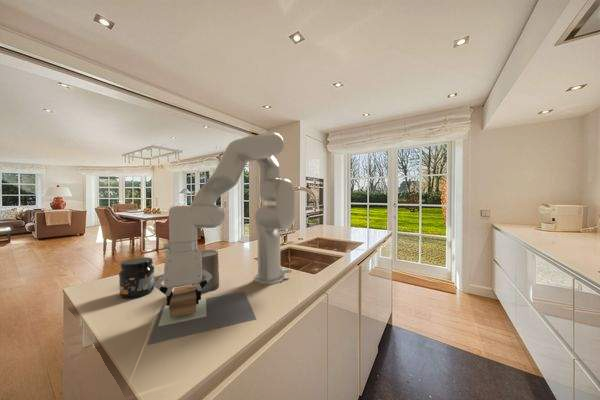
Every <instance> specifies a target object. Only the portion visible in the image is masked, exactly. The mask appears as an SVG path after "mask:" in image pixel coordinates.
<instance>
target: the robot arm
mask: <svg viewBox="0 0 600 400" xmlns="http://www.w3.org/2000/svg"><path fill="white" fill-rule="evenodd" d="M284 147H285V141H284V139H283V137H282V135H280V133H278V132H274V131H273V132H267V133H261V134H257V135H251V136H245V137H241V138H238V139H235V140H233V141H231V142H229V144H228V145H227V147H226V148H225V149H224V150H225V151H224V153H223V155H222V156H221V158H220V160H219V163H218V164H217V166H216V168H215V170H214V172H213V174H212V175H211V176H209V178H208V179H207V180H206V181H205V183H204V184H203V185H202V186H201V187H200V188H199V189H198V191H197V192H196V194H195V196H194V197H193V199H192V201H191V203H190V205H174V206H171V207H170V208H169V210H168V236H169V237H168V238H169V240H168V243H164V244H163V249H164V250H166V249H168V250H169V252H167V253H166V255H165V259H164V269H163V271H164V273H163V274H162V275H161V276H160V277H159V278H157V280H156V281H154V288H156V289H157V290H159V292H160V293H162V294H164V295H165V297H166V306H169V310H170V301H171V297H172V295H173V290H174V288H178V287H184V286H191V285H193V284H195V286H196V288H197V289H196V304H199V300H201V299H202V293H201V290H202V288H203V287H204V286H205V285H206V284H207V282H208V281H209V280H210V279H211V278H212V275H211V274H210V273H209V272H207V271H206V270H204V269H203V268H202V258H201V252H200V251H201V249H200V248H198V229H199V228H200V229H202V228H203V229H211V228H212V229H213V228H217V227H218V226H221V225H222V224H223V223H224V221H225V218H226V215H225V211H224V209H222V208H221V207H220V206H219V205H216V204H215V203H216V202H217V200H218V199H219V198H220V197H221V196H222V195H223V194H225V193H227V192H228V191H230V190H231V189H232V188H234V187H235V186H237V184H238V183H239V180H240V178H241V176H242V173H243V172H244V169H245V167H246V165H247V163H248V162H254V161H256V162H257V165H258V166H259V197H260V199H261V200H262V201H264V202H270V203H273V202H274V203H275V204H265V205H261V206H260V207H258V208H257V209H256V211H255V213H254V220H255V221H254V222H255V225H256V232H257V233H256V234H257V274H256V275H255V276H254V280H253V281H254V282H255V283H256V284H260V285H269V286H270V285H275V284H279V283H282V282H283V281H284V280H285V274H292V268H287V267H281V234H280V231H279V230H288V229H290V228H291V227H292V225H293V223H294V221H295V220H294V219H295V209H296V208H295V205H296V190H295V187H294V183H293V182H292V181H291V180H290V179H288V178H285V177H284V178H281V168H280V167H281V166H280V164H279V162H278V160H277V158H276V157H275V156H277V155H280V154H281V153H282V152H283V150H284ZM202 275H204V276H205V277H206V278H205V279H204V280H203V281H202ZM201 281H202V282H201ZM162 282H163V284H162ZM200 282H201V283H200Z"/></svg>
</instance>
